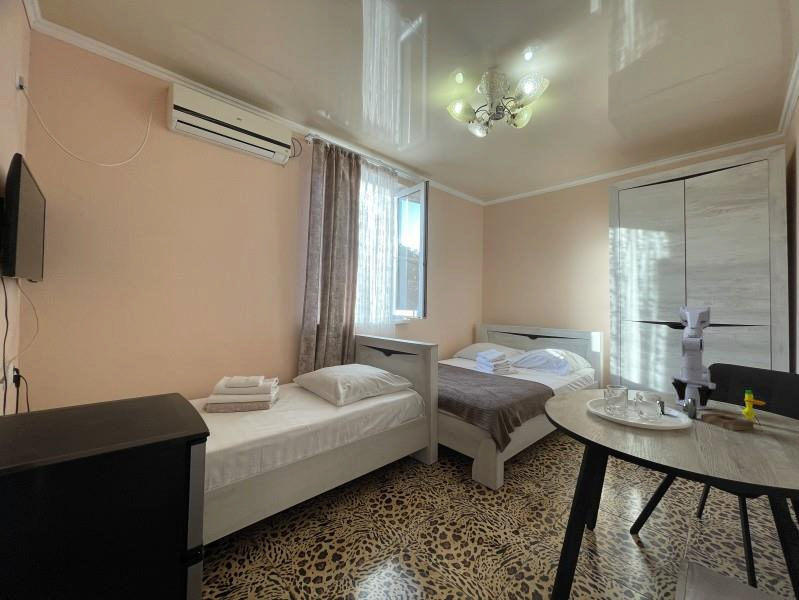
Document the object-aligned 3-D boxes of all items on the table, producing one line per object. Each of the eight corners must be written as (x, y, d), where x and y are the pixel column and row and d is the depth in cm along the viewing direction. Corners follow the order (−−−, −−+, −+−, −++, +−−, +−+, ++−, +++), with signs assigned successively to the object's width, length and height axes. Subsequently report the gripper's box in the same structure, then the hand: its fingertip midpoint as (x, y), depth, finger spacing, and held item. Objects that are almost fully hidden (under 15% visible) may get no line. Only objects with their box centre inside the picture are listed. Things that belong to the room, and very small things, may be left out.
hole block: (700, 420, 124) (700, 414, 124) (720, 419, 127) (720, 412, 127) (732, 430, 115) (732, 423, 115) (753, 428, 117) (753, 421, 117)
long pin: (686, 417, 128) (686, 398, 128) (691, 416, 129) (691, 397, 129) (693, 419, 126) (693, 400, 126) (698, 419, 126) (698, 399, 126)
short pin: (681, 410, 137) (681, 403, 137) (686, 410, 137) (686, 403, 137) (687, 412, 134) (687, 405, 134) (692, 412, 135) (692, 404, 135)
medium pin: (654, 412, 134) (654, 400, 134) (659, 412, 134) (659, 400, 134) (660, 414, 131) (660, 402, 131) (666, 414, 132) (666, 401, 132)
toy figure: (766, 425, 121) (766, 392, 121) (763, 426, 119) (763, 393, 119) (741, 419, 127) (741, 388, 127) (737, 420, 125) (737, 389, 125)
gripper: (665, 365, 134) (665, 397, 134) (705, 372, 120) (705, 409, 119) (678, 364, 135) (678, 397, 135) (719, 371, 121) (720, 408, 121)
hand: (692, 402), depth 127 cm, fingers open, 7 cm apart
